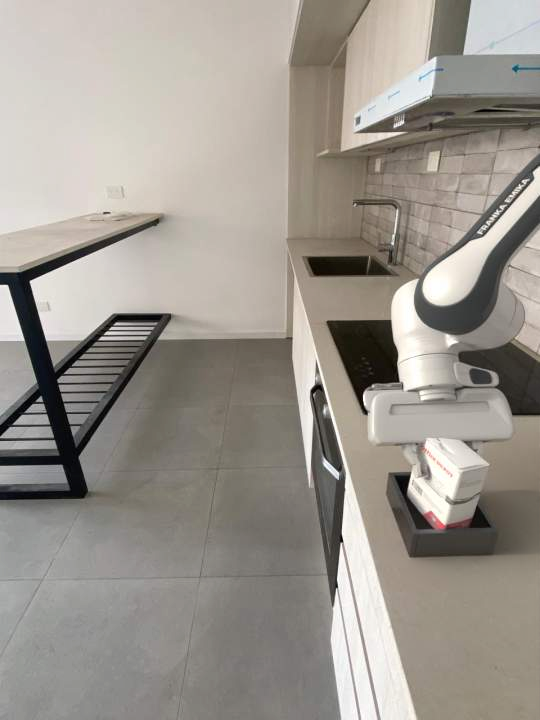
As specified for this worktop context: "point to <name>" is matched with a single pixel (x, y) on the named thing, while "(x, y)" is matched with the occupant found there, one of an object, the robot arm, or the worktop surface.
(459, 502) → the ink box
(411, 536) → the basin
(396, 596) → the worktop surface
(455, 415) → the robot arm
